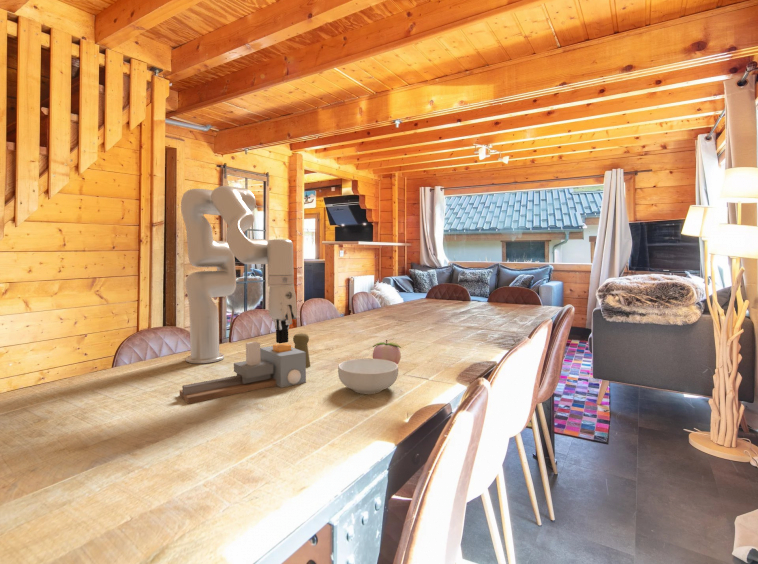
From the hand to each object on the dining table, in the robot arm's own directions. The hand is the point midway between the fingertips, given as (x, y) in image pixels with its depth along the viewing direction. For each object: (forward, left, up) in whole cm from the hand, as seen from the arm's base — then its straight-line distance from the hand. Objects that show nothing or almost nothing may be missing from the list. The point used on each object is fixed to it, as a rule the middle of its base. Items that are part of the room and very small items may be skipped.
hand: (282, 342), depth 128 cm
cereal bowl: (+24, +14, -12) cm, 30 cm away
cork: (-10, +12, -12) cm, 19 cm away
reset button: (0, 0, -5) cm, 5 cm away
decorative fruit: (+12, +31, -12) cm, 35 cm away
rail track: (0, -16, -11) cm, 20 cm away
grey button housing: (0, 0, -11) cm, 11 cm away
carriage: (0, -9, -10) cm, 13 cm away
